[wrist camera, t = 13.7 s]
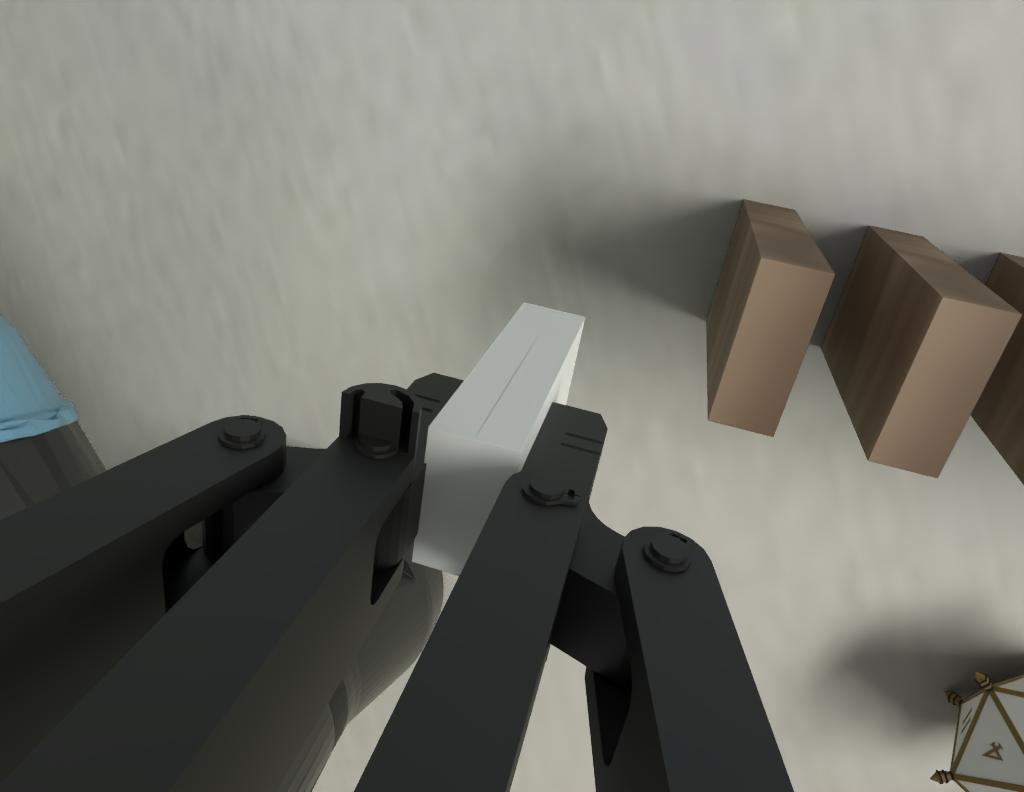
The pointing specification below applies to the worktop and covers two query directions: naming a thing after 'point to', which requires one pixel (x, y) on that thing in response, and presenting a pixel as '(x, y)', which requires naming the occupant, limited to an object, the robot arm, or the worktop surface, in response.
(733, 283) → the domino
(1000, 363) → the domino
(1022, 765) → the game die
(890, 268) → the domino
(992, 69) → the worktop surface
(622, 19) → the worktop surface
